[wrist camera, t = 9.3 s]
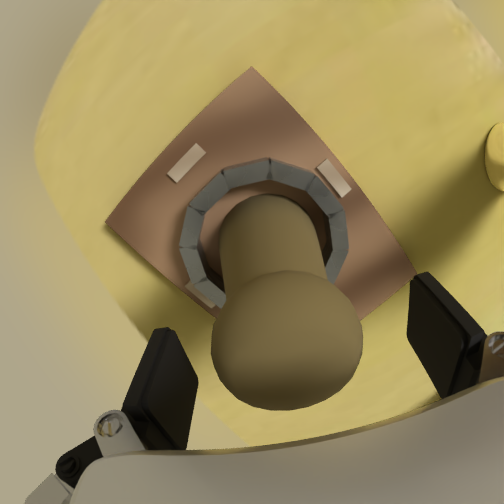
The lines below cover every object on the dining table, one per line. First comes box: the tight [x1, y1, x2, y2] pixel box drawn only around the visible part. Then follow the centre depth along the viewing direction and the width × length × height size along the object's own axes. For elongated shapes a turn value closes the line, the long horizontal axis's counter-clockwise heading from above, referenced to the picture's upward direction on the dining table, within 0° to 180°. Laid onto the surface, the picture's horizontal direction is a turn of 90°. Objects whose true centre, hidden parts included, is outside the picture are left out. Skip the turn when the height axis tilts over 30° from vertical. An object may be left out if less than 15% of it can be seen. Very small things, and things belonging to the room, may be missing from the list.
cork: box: [211, 193, 363, 410], centre depth 13 cm, size 6×6×11 cm
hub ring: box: [179, 157, 349, 309], centre depth 17 cm, size 10×10×2 cm
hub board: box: [105, 66, 417, 320], centre depth 19 cm, size 18×13×1 cm
